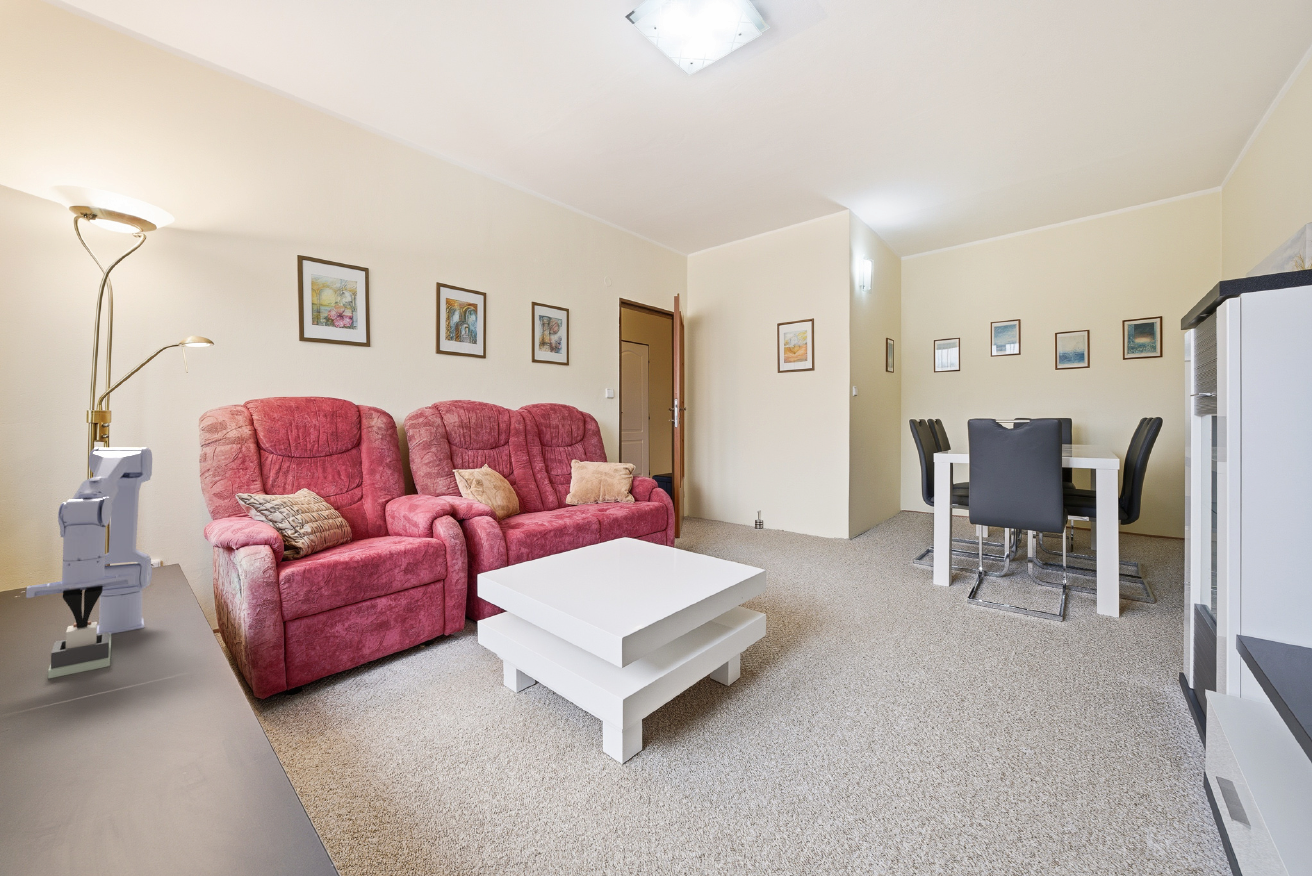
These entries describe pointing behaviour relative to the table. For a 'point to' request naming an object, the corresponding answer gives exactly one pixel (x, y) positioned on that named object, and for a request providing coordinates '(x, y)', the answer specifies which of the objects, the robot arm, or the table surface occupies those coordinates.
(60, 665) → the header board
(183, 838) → the table surface
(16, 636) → the table surface
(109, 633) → the robot arm
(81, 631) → the plug
